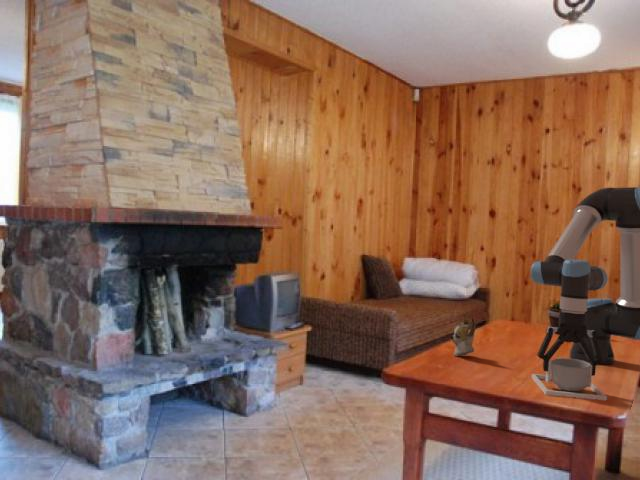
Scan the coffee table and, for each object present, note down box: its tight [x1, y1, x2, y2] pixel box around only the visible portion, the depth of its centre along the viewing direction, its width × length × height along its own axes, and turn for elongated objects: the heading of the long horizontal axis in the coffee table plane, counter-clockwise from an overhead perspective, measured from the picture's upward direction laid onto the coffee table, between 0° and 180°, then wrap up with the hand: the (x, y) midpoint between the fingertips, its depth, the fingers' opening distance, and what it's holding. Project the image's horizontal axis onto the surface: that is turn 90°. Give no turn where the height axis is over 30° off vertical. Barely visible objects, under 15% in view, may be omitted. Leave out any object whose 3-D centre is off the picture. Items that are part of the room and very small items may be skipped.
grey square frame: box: [531, 373, 608, 401], centre depth 170 cm, size 17×19×2 cm
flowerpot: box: [546, 300, 562, 335], centre depth 265 cm, size 14×15×20 cm
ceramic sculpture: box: [450, 313, 476, 357], centre depth 206 cm, size 11×9×15 cm
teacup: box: [550, 356, 591, 392], centre depth 169 cm, size 14×11×8 cm
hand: (567, 384), depth 169 cm, fingers closed on teacup, 11 cm apart
